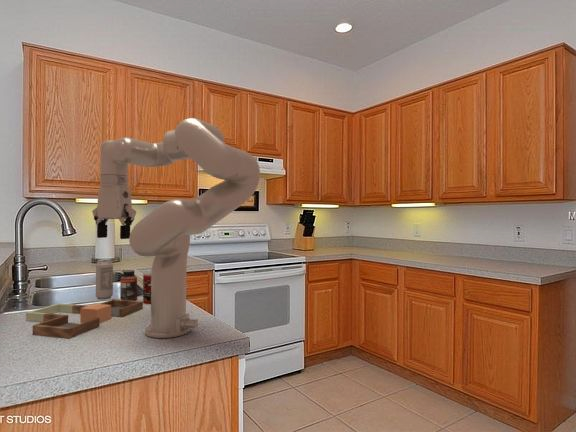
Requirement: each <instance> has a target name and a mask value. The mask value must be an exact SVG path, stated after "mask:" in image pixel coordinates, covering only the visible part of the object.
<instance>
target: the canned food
mask: <svg viewBox="0 0 576 432" xmlns="http://www.w3.org/2000/svg"><path fill="white" fill-rule="evenodd" d="M142 277H143V278H142V288H143V289H142V301H143V304H146V305H151V271H146V272H144V273H143V275H142Z"/></svg>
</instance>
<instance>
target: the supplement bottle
mask: <svg viewBox="0 0 576 432" xmlns="http://www.w3.org/2000/svg"><path fill="white" fill-rule="evenodd" d="M122 273H123V274H122V276H121V277H120V300H129V301H137V299H138V276H137V275H135V270H134V269H127V270H123V271H122Z"/></svg>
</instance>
